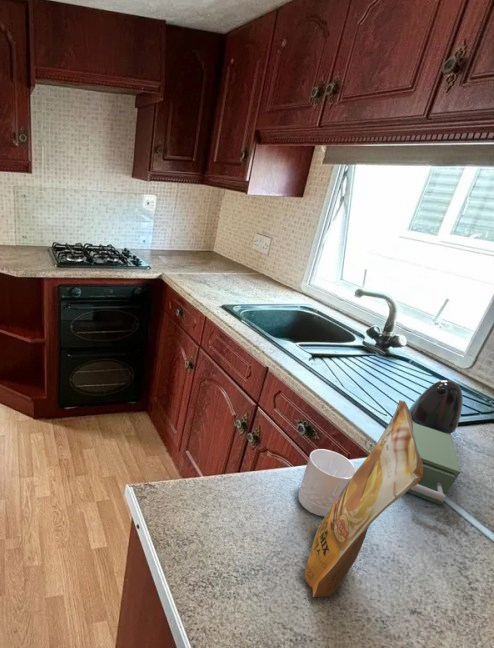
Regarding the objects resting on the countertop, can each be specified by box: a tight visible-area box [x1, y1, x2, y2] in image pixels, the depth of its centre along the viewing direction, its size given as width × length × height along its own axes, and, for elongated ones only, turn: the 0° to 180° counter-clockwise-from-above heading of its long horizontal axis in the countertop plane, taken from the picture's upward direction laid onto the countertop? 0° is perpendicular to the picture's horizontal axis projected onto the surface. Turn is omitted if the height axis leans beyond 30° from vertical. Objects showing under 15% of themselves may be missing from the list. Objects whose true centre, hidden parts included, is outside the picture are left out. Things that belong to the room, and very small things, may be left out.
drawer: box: [407, 462, 455, 505], centre depth 83 cm, size 18×7×7 cm, turn 148°
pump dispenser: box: [409, 379, 464, 435], centre depth 101 cm, size 10×10×15 cm
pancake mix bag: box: [303, 400, 423, 598], centre depth 60 cm, size 7×19×28 cm, turn 145°
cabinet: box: [406, 423, 461, 506], centre depth 86 cm, size 15×9×9 cm, turn 148°
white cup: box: [297, 448, 358, 517], centre depth 76 cm, size 8×8×10 cm
